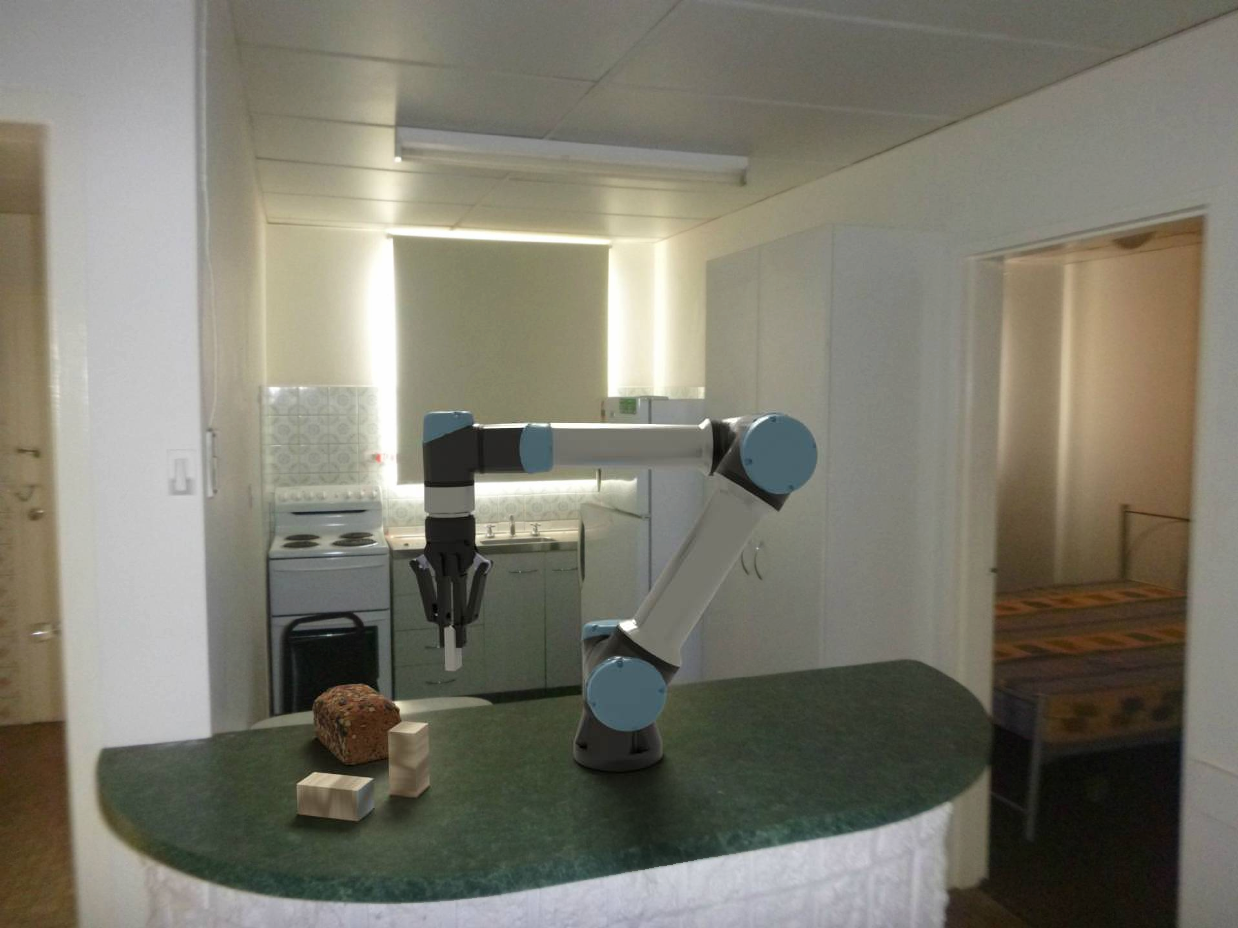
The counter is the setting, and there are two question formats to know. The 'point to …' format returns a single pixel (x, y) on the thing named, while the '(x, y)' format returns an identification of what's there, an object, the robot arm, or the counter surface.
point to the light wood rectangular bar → (335, 796)
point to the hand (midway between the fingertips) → (453, 668)
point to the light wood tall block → (408, 759)
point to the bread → (355, 722)
